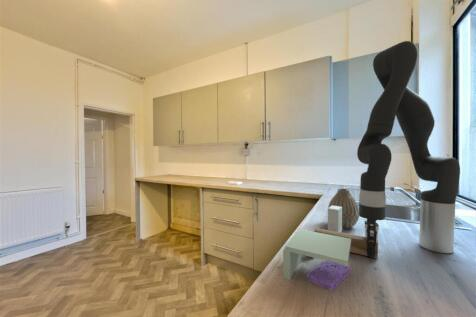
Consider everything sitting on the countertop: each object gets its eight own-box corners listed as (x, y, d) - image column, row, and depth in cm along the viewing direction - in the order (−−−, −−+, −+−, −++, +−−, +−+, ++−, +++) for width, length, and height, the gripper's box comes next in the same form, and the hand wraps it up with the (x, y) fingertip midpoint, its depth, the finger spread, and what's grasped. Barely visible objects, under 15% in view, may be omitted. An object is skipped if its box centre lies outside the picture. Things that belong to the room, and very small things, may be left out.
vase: (330, 230, 95) (331, 191, 94) (325, 220, 108) (326, 186, 107) (363, 233, 92) (364, 192, 91) (354, 223, 105) (355, 187, 104)
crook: (315, 240, 83) (315, 228, 83) (377, 253, 73) (377, 239, 73) (307, 255, 71) (307, 240, 71) (379, 273, 61) (379, 256, 61)
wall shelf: (297, 254, 73) (297, 228, 72) (350, 268, 65) (351, 238, 64) (282, 277, 60) (283, 245, 59) (346, 297, 52) (347, 261, 51)
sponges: (350, 273, 63) (350, 267, 63) (331, 292, 54) (331, 285, 54) (326, 264, 68) (326, 258, 68) (306, 280, 59) (306, 273, 59)
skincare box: (331, 232, 92) (331, 205, 92) (342, 235, 90) (342, 206, 89) (327, 236, 88) (327, 208, 87) (338, 239, 85) (338, 209, 85)
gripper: (387, 209, 64) (385, 266, 64) (383, 200, 76) (382, 248, 76) (358, 206, 67) (357, 260, 68) (359, 197, 80) (358, 243, 80)
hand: (370, 253), depth 72 cm, fingers closed on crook, 3 cm apart
